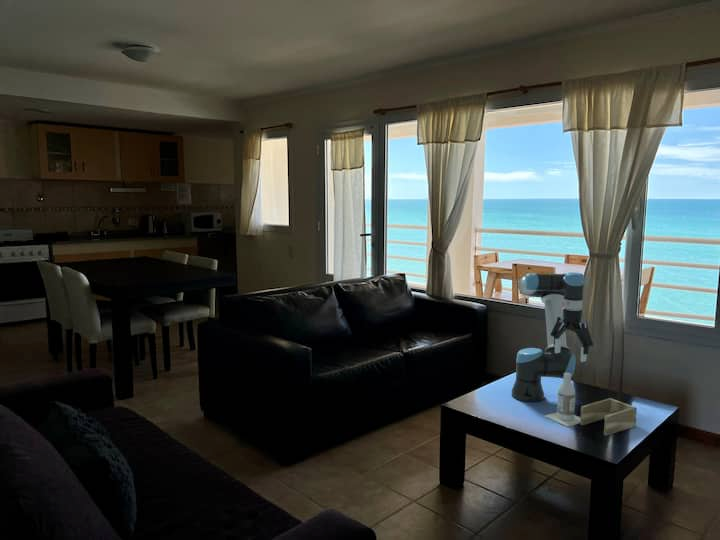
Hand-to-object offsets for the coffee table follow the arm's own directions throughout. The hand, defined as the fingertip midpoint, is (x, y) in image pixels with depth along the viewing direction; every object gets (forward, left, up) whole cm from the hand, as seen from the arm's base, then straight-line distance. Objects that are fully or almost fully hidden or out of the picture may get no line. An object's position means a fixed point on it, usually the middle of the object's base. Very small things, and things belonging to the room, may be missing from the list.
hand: (570, 356), depth 222 cm
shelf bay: (+14, +8, -28) cm, 32 cm away
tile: (+1, -2, -28) cm, 28 cm away
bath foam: (+1, -2, -27) cm, 27 cm away
